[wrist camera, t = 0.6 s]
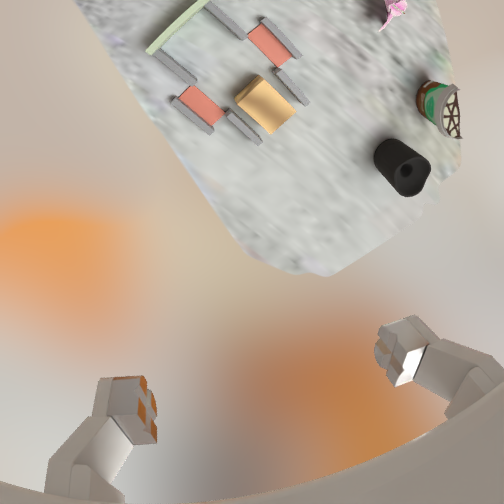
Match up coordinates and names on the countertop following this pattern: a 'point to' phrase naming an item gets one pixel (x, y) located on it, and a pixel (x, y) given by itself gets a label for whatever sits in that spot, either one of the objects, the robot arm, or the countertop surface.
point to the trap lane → (193, 99)
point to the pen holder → (402, 167)
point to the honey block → (264, 104)
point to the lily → (394, 9)
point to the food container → (440, 107)
